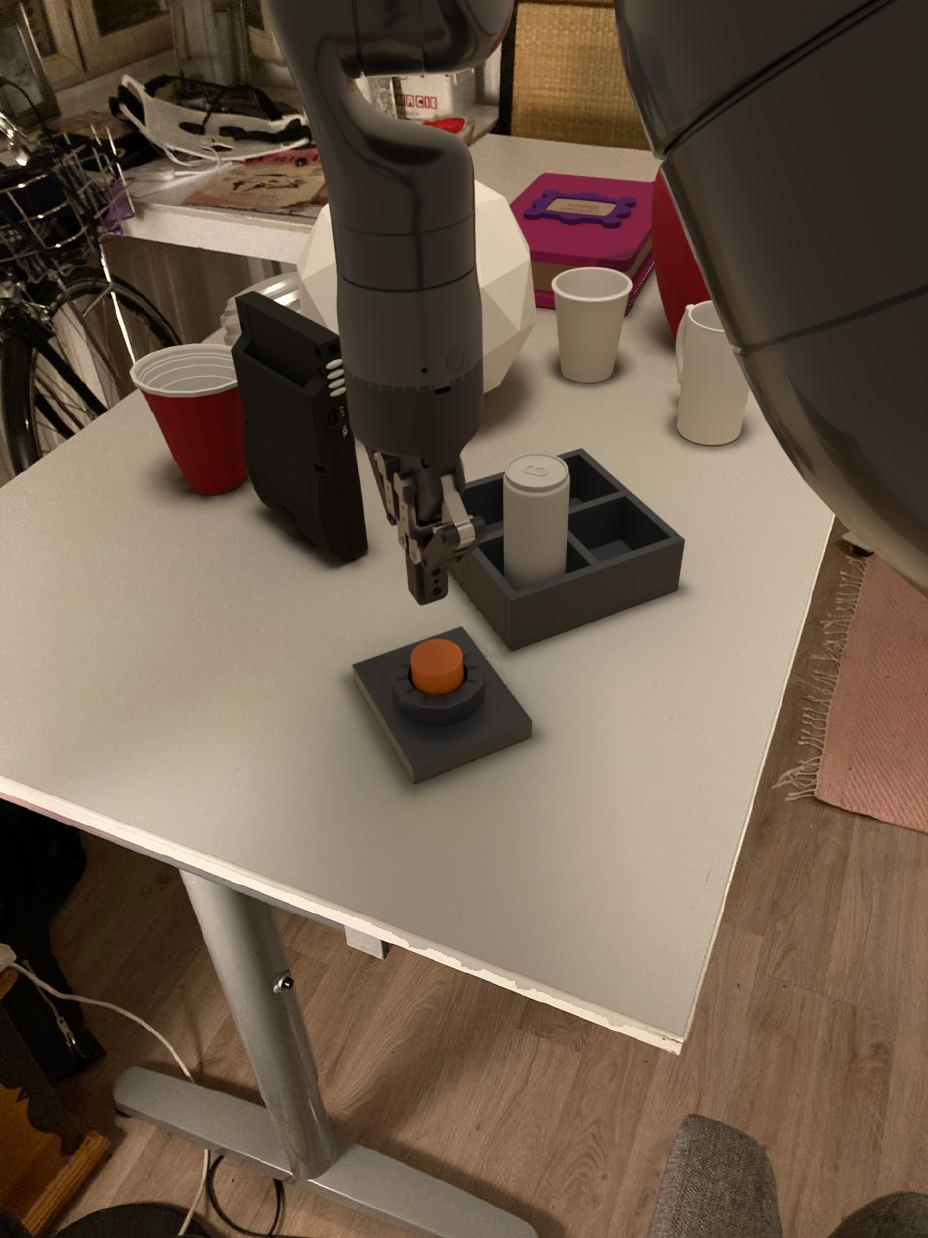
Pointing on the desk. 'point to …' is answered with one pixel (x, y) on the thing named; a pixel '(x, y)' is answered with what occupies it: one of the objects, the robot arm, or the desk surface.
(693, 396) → the mug
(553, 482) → the beverage can
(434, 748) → the panel
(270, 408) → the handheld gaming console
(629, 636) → the desk surface
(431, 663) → the button
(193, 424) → the plastic cup
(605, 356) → the dixie cup
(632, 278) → the book
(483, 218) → the lamp
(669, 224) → the vase
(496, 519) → the divided tray
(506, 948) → the desk surface
